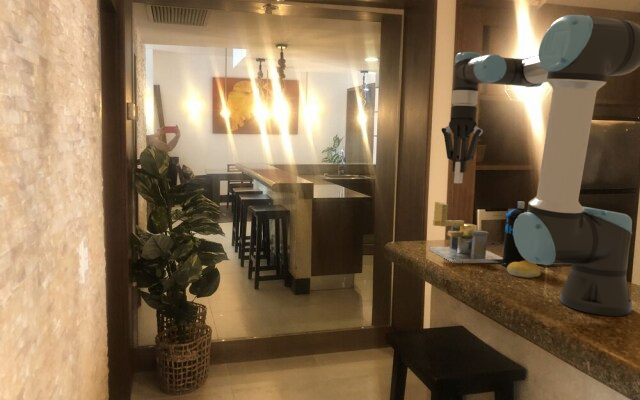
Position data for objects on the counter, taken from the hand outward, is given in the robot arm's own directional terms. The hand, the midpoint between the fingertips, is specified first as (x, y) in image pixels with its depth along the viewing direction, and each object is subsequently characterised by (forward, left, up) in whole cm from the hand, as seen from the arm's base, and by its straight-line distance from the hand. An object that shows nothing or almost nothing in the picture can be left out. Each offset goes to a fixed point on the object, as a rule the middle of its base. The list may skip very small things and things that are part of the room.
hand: (458, 182), depth 164 cm
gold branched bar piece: (+6, -5, -18) cm, 20 cm away
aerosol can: (-7, -18, -25) cm, 31 cm away
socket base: (+6, -8, -25) cm, 26 cm away
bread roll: (-16, -15, -25) cm, 33 cm away
